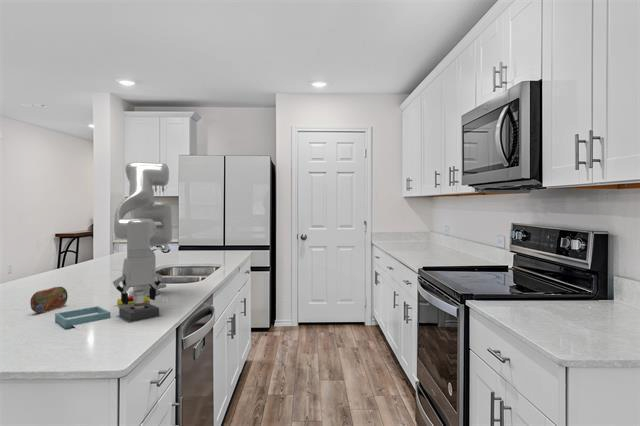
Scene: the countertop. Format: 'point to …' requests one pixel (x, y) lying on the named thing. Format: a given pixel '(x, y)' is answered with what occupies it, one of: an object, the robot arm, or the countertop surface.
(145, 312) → the fuse panel
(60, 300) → the tin
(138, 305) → the fuse
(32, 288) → the countertop surface
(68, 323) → the parts tray
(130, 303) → the emergency button
